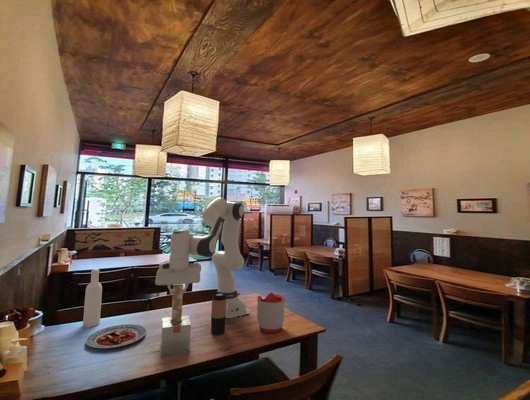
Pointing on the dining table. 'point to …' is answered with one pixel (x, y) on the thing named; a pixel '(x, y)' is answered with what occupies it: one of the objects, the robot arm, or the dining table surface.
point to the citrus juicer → (270, 312)
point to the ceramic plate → (116, 336)
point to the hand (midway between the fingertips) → (177, 293)
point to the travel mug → (218, 313)
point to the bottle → (92, 301)
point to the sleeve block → (175, 336)
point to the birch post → (177, 303)
